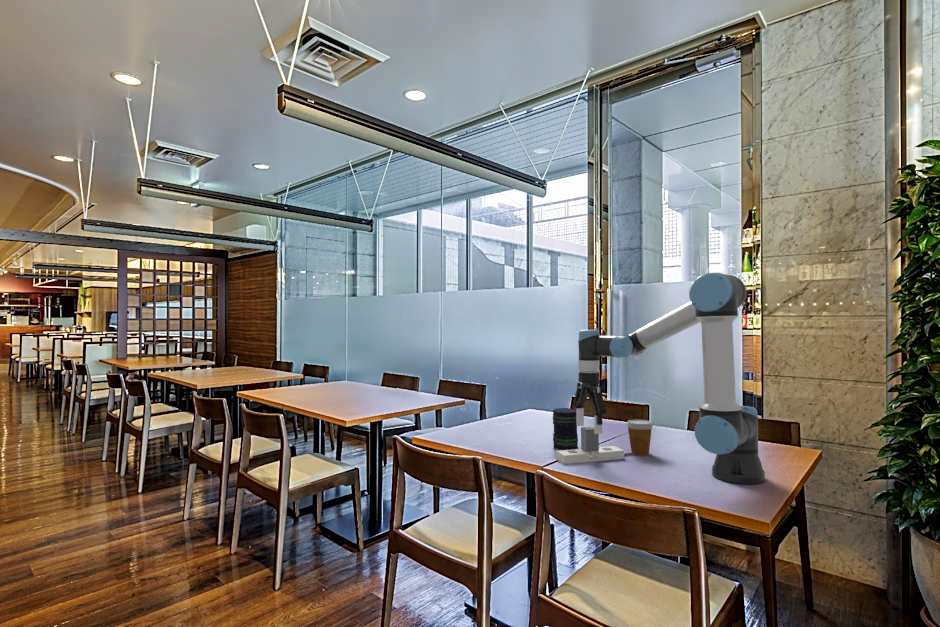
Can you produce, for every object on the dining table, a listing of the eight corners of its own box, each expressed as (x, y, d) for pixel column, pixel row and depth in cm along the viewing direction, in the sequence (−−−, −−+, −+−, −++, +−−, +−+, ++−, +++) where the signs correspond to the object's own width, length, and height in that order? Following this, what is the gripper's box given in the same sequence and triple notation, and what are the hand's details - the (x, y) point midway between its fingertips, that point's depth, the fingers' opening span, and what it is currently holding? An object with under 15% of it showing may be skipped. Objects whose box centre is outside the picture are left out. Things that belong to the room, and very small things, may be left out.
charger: (598, 455, 187) (598, 427, 187) (586, 456, 186) (586, 428, 186) (593, 453, 191) (593, 425, 191) (581, 454, 190) (580, 426, 190)
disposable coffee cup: (650, 450, 200) (649, 419, 200) (656, 456, 190) (655, 424, 190) (624, 450, 201) (624, 419, 201) (629, 456, 191) (629, 424, 192)
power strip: (638, 457, 190) (638, 448, 190) (564, 464, 182) (564, 455, 182) (627, 452, 197) (627, 444, 197) (555, 459, 189) (555, 450, 189)
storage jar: (559, 443, 212) (559, 407, 213) (582, 446, 207) (581, 409, 207) (548, 448, 204) (548, 410, 205) (571, 452, 199) (571, 413, 199)
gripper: (616, 375, 178) (616, 436, 178) (581, 368, 202) (581, 422, 202) (597, 375, 176) (596, 437, 176) (564, 368, 200) (564, 423, 200)
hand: (588, 429), depth 189 cm, fingers open, 13 cm apart
